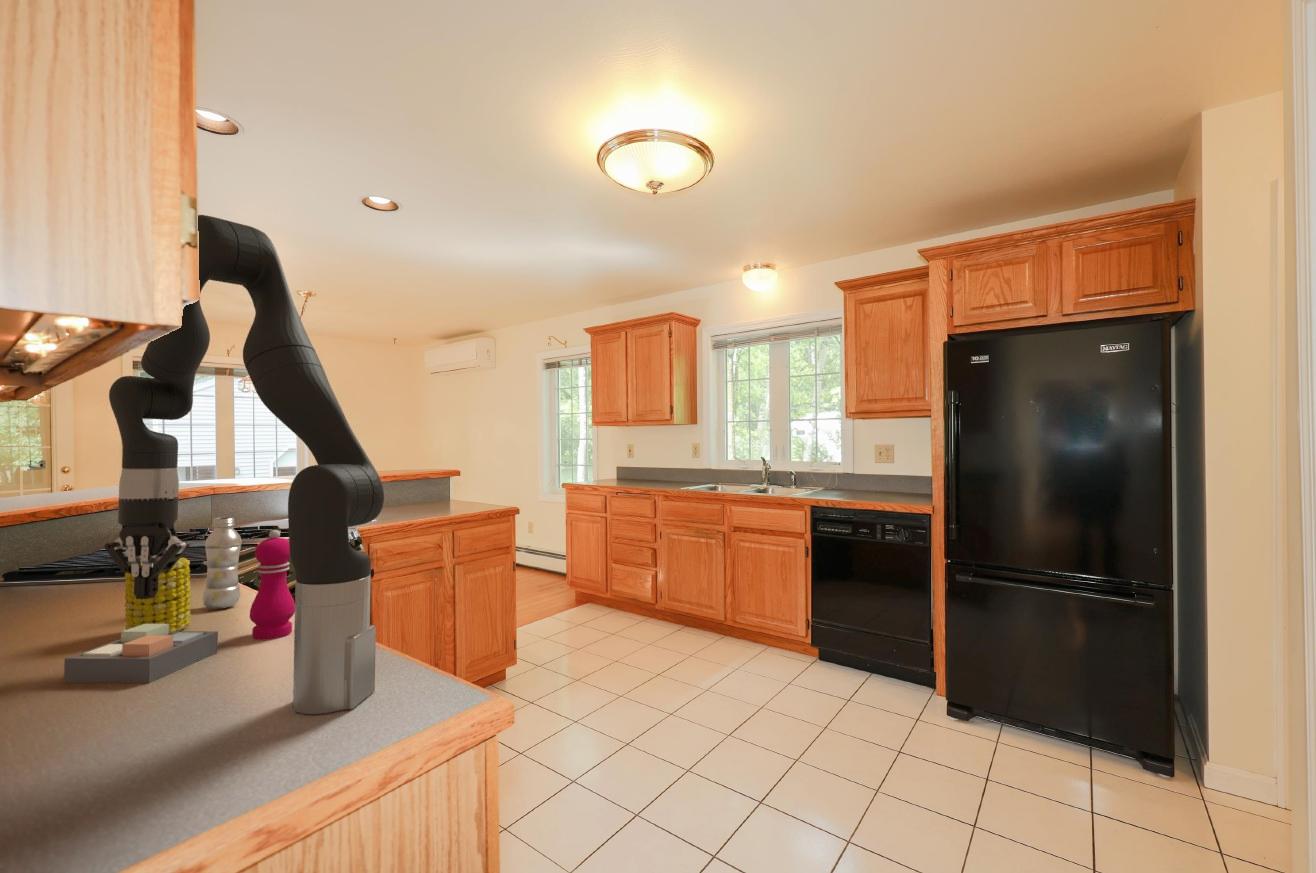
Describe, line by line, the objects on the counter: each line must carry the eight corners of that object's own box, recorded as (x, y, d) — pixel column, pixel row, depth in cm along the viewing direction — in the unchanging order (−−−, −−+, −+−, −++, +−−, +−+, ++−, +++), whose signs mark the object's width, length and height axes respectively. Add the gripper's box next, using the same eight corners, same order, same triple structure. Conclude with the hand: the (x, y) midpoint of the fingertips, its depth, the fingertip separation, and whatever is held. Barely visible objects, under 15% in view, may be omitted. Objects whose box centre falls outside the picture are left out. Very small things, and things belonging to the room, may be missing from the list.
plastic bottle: (210, 605, 127) (212, 517, 128) (245, 602, 129) (247, 516, 130) (196, 612, 121) (198, 520, 122) (233, 610, 123) (235, 519, 124)
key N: (135, 664, 90) (136, 644, 90) (109, 675, 86) (110, 653, 86) (109, 664, 90) (110, 643, 90) (82, 674, 86) (83, 653, 86)
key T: (172, 655, 90) (173, 635, 90) (148, 665, 86) (149, 644, 86) (146, 655, 90) (147, 635, 90) (121, 665, 86) (122, 644, 86)
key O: (202, 651, 96) (203, 632, 96) (182, 660, 92) (182, 640, 92) (178, 651, 96) (179, 632, 96) (156, 660, 92) (157, 640, 92)
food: (194, 629, 115) (171, 648, 105) (123, 622, 111) (93, 641, 101) (215, 556, 116) (195, 568, 106) (145, 546, 112) (118, 558, 102)
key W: (168, 643, 96) (169, 623, 96) (146, 651, 92) (146, 631, 92) (144, 642, 96) (144, 623, 96) (120, 651, 92) (121, 631, 92)
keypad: (217, 652, 98) (217, 631, 98) (149, 682, 85) (149, 658, 85) (143, 651, 98) (143, 630, 98) (63, 682, 85) (64, 658, 85)
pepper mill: (303, 629, 110) (305, 527, 111) (275, 641, 103) (277, 532, 104) (269, 628, 111) (272, 526, 112) (239, 640, 104) (241, 532, 104)
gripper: (87, 496, 91) (84, 603, 91) (168, 497, 91) (165, 604, 91) (131, 493, 99) (128, 591, 98) (206, 493, 99) (203, 592, 98)
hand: (145, 597), depth 95 cm, fingers closed
